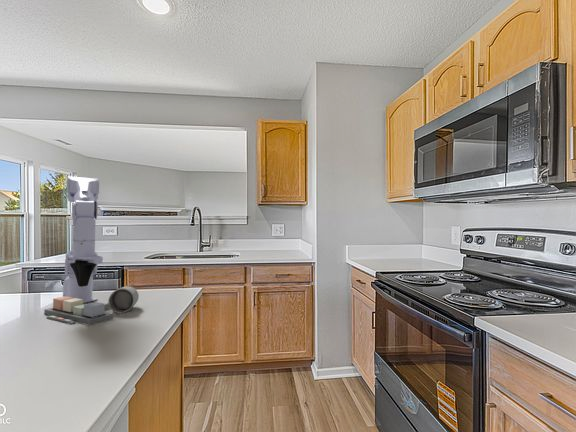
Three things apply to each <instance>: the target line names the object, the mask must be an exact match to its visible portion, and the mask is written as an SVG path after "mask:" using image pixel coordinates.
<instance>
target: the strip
mask: <svg viewBox="0 0 576 432" xmlns="http://www.w3.org/2000/svg"><path fill="white" fill-rule="evenodd" d="M46 319H49V320H52V321H57V322H61V323H65V324H68V325H75V324H76V322H75V321H72V320H69V319H64V318H60V317H56V316H50V315H46Z"/></svg>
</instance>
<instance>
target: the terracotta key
mask: <svg viewBox="0 0 576 432" xmlns="http://www.w3.org/2000/svg"><path fill="white" fill-rule="evenodd" d="M68 299H73V297H68V296H64V297H63V296H61V297H55V298H53V300H52V303H53V304H52V308H54V309H58V310H63V300H68Z"/></svg>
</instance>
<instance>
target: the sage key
mask: <svg viewBox="0 0 576 432" xmlns="http://www.w3.org/2000/svg"><path fill="white" fill-rule="evenodd" d="M85 304H86V303H83V305H79V306H74V307H73V315H78V316H82V315H84V305H85Z"/></svg>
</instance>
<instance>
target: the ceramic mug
mask: <svg viewBox="0 0 576 432" xmlns="http://www.w3.org/2000/svg"><path fill="white" fill-rule="evenodd" d="M139 295H140V294H139V292H138V290H137V289H136V288H135V287H132V286H130V285H128V286H122V287H120V288H117V289H116V290H114V291H113V292H112V293H111V294H110V295H109V297H108V302H107V303H104V304H105V311H107V310H110V309H111V311H113V312H114V313H117V314H124V313H127V312H129V311H130V310H131V309H132V308H133V307H134V306H135V305H136V304H137V302H138V301H139V297H140V296H139Z"/></svg>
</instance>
